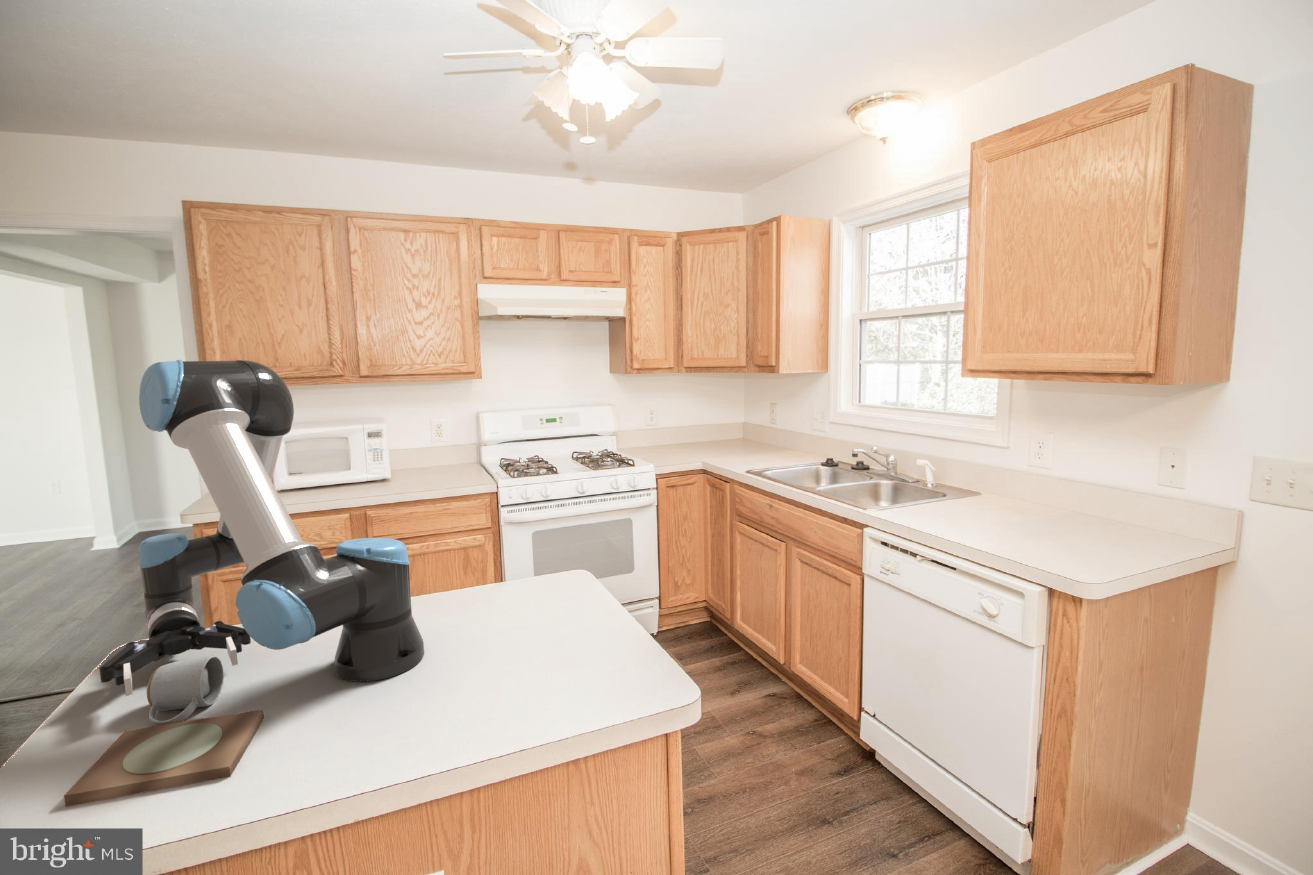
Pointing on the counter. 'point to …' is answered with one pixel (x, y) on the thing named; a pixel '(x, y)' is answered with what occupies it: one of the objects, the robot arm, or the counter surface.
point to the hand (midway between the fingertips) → (183, 671)
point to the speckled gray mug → (184, 687)
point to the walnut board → (168, 757)
